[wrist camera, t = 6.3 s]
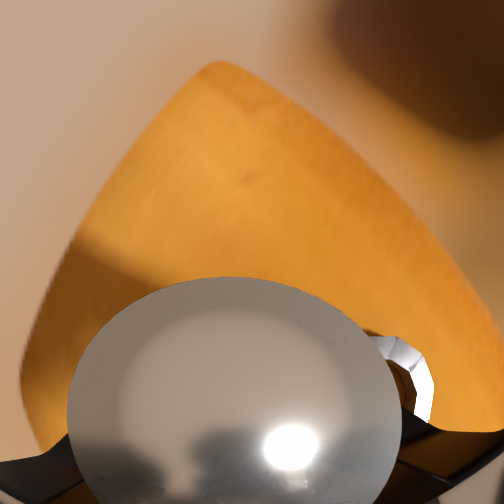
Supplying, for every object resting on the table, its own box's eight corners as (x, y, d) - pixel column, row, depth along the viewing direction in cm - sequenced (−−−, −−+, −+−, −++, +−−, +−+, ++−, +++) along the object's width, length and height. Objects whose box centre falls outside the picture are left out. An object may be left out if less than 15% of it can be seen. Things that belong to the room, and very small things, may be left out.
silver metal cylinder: (247, 424, 14) (269, 588, 2) (177, 376, 15) (28, 443, 3) (296, 358, 16) (450, 387, 3) (227, 310, 16) (193, 208, 4)
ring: (369, 484, 14) (377, 492, 12) (260, 433, 15) (262, 441, 14) (439, 375, 17) (451, 375, 15) (347, 309, 18) (356, 306, 17)
